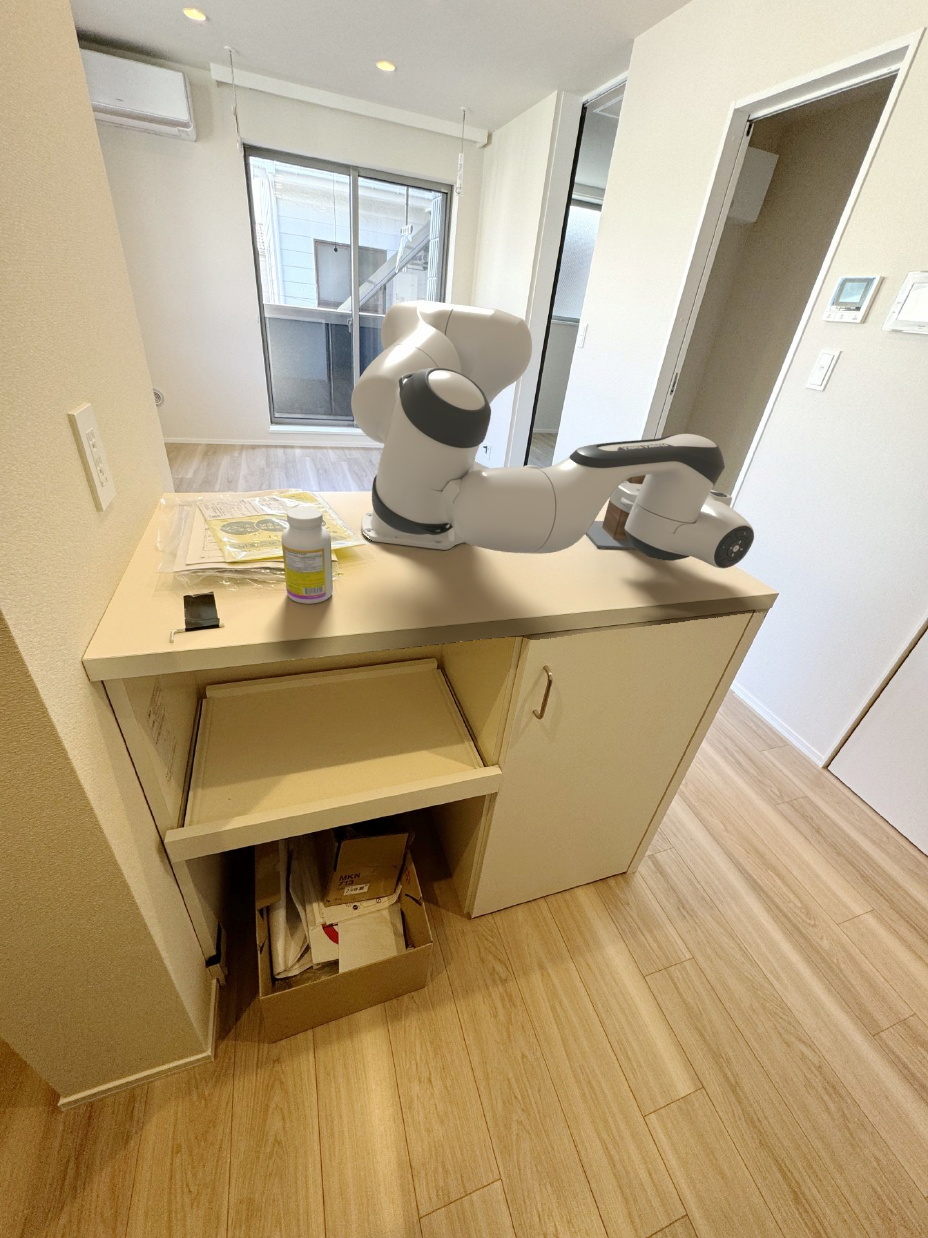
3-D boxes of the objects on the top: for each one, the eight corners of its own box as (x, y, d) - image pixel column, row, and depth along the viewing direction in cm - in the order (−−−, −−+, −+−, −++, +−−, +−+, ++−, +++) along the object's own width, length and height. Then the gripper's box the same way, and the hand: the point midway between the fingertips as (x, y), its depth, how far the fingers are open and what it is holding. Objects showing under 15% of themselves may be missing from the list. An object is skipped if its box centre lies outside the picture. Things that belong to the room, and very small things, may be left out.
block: (612, 538, 107) (638, 448, 97) (602, 527, 112) (624, 440, 103) (640, 540, 108) (668, 451, 98) (628, 528, 113) (654, 443, 104)
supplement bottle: (305, 579, 79) (299, 500, 73) (341, 590, 78) (339, 510, 71) (276, 597, 74) (268, 514, 67) (315, 610, 72) (310, 525, 66)
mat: (597, 547, 103) (597, 545, 103) (575, 522, 115) (576, 519, 115) (668, 551, 106) (669, 548, 106) (640, 525, 118) (641, 523, 117)
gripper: (623, 524, 89) (595, 498, 100) (727, 530, 92) (688, 504, 104) (633, 489, 85) (603, 466, 97) (741, 497, 89) (699, 474, 100)
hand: (648, 486), depth 100 cm, fingers open, 8 cm apart
